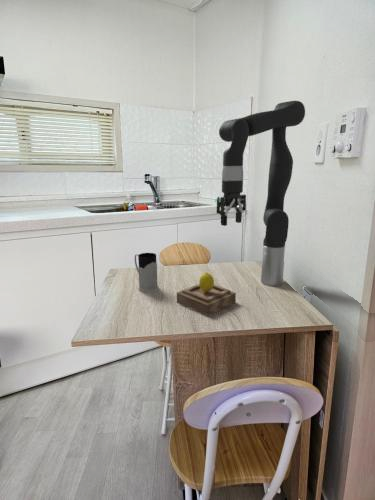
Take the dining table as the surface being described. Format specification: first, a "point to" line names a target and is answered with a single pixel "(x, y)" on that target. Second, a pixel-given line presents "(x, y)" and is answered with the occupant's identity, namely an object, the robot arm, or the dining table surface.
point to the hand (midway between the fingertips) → (231, 223)
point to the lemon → (206, 282)
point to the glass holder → (147, 272)
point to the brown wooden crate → (206, 299)
